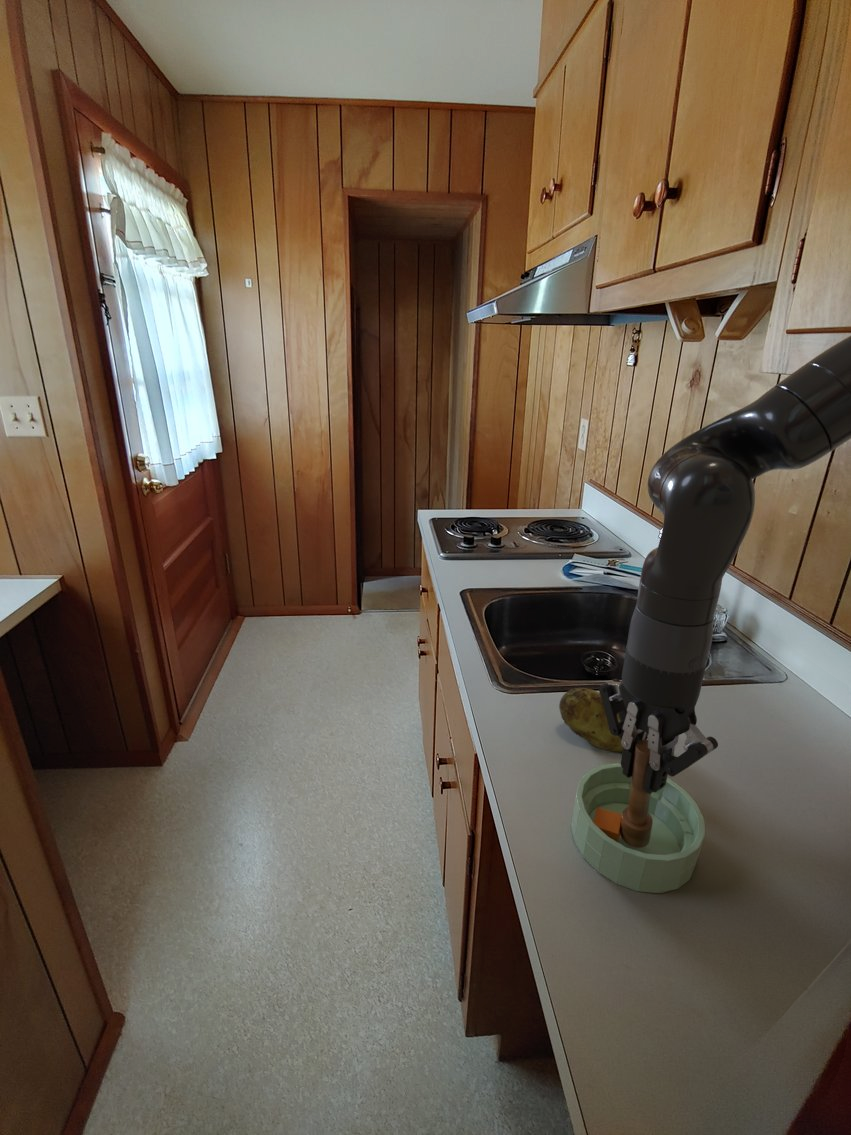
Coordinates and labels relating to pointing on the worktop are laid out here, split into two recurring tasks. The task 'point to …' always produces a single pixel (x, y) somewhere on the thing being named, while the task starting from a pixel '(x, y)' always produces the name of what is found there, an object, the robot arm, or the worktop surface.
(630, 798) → the wooden flanged peg
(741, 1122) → the worktop surface
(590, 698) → the potato
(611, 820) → the carrot cube
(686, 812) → the bowl
